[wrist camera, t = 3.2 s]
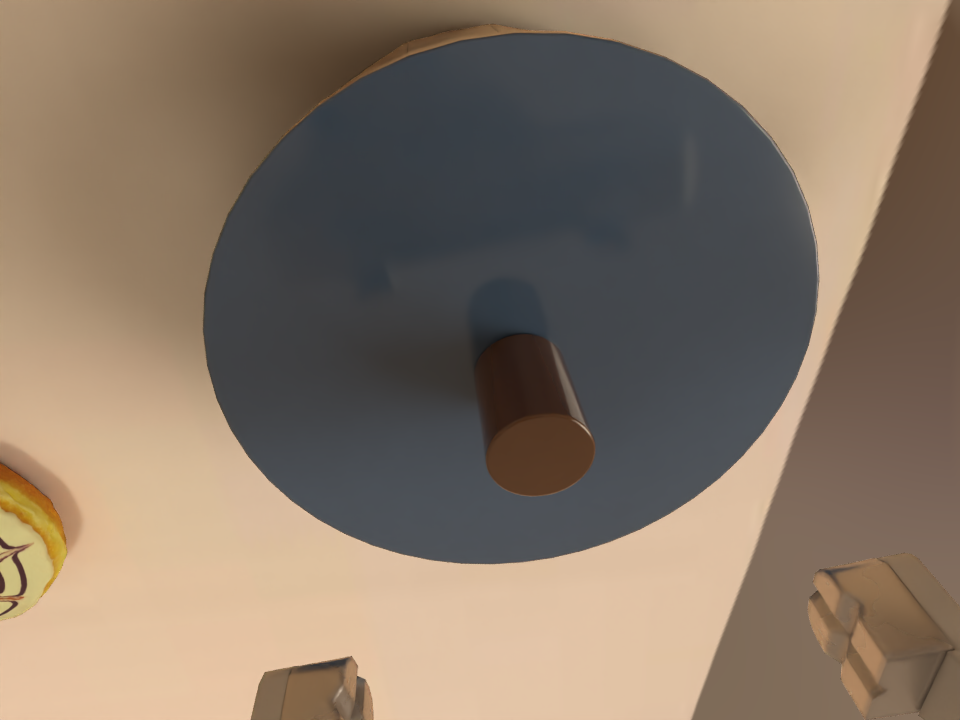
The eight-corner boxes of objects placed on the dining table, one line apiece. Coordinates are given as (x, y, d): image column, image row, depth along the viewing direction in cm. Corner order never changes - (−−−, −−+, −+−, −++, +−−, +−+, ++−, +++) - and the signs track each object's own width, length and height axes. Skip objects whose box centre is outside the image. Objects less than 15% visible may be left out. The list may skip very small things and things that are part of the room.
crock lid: (88, 114, 13) (-49, 177, 9) (840, -49, 13) (1026, -53, 9) (328, 573, 23) (311, 701, 19) (768, 489, 22) (843, 602, 18)
